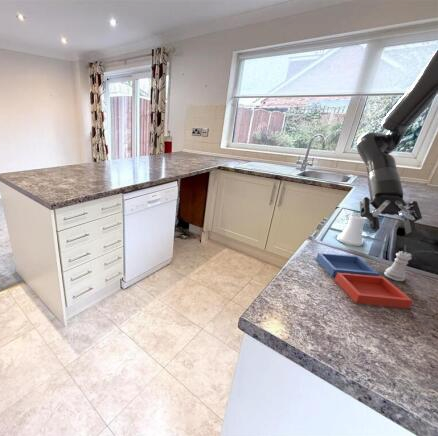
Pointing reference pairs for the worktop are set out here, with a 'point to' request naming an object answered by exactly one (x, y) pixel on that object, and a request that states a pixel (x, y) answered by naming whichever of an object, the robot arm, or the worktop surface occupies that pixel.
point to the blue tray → (345, 264)
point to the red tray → (372, 290)
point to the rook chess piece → (398, 267)
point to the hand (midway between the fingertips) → (393, 231)
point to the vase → (353, 231)
